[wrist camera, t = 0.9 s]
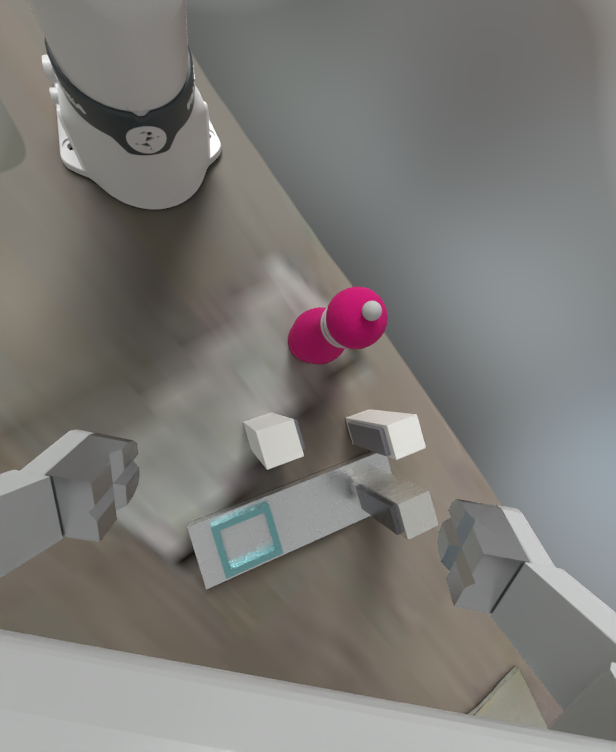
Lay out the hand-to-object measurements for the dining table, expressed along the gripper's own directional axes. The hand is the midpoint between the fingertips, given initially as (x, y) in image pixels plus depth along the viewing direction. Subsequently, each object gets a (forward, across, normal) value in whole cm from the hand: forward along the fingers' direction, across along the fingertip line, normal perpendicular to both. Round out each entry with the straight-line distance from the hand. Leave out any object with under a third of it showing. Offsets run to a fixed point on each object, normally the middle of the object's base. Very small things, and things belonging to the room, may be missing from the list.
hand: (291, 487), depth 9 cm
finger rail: (+28, -2, +31) cm, 42 cm away
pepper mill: (+40, +1, +10) cm, 41 cm away
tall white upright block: (+32, +5, +21) cm, 39 cm away
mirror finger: (+37, -9, +21) cm, 43 cm away
